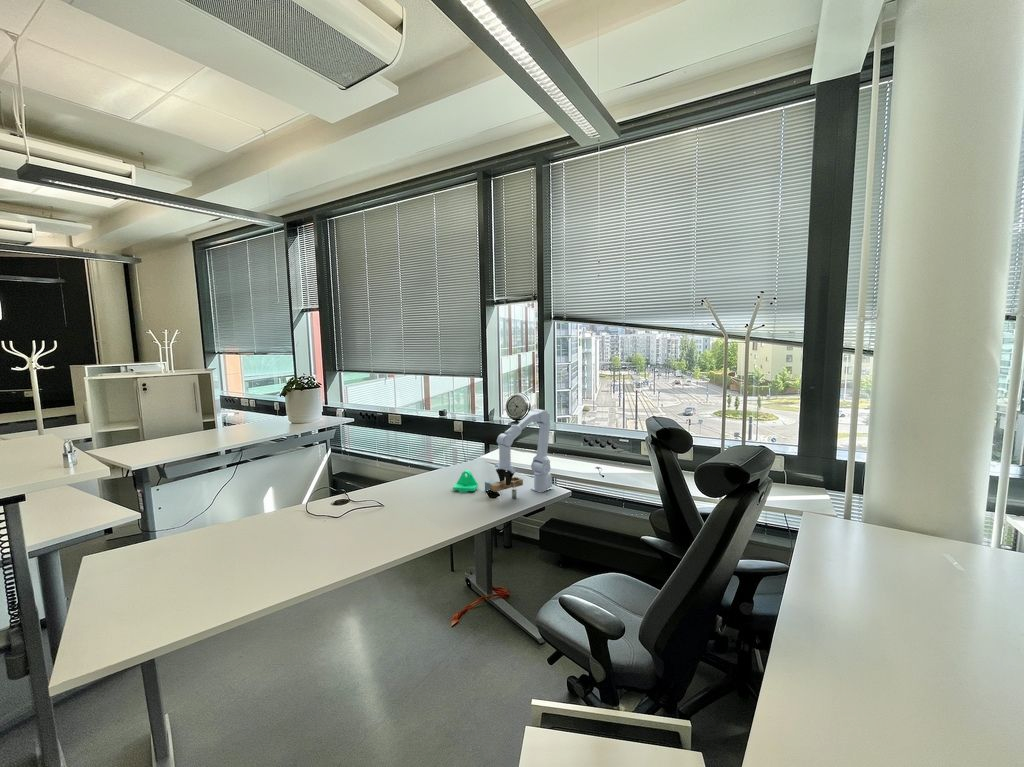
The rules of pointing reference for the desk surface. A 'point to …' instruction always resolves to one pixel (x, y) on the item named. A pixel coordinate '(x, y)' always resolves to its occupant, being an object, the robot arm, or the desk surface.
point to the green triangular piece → (466, 482)
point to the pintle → (514, 493)
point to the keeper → (487, 484)
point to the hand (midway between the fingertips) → (505, 483)
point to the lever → (502, 484)
